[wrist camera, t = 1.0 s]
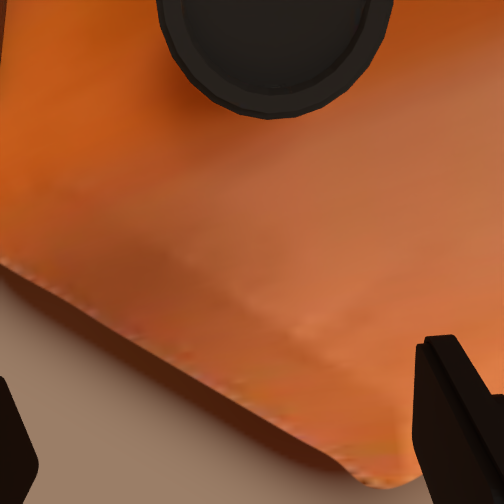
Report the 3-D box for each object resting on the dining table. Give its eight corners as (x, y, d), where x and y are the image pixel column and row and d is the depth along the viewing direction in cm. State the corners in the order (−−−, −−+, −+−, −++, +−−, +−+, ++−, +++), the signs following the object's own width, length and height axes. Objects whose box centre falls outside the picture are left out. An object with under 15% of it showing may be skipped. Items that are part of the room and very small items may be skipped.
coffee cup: (328, 87, 31) (384, 134, 17) (198, 80, 31) (149, 123, 17) (345, -68, 27) (433, -165, 13) (197, -77, 27) (136, -182, 13)
